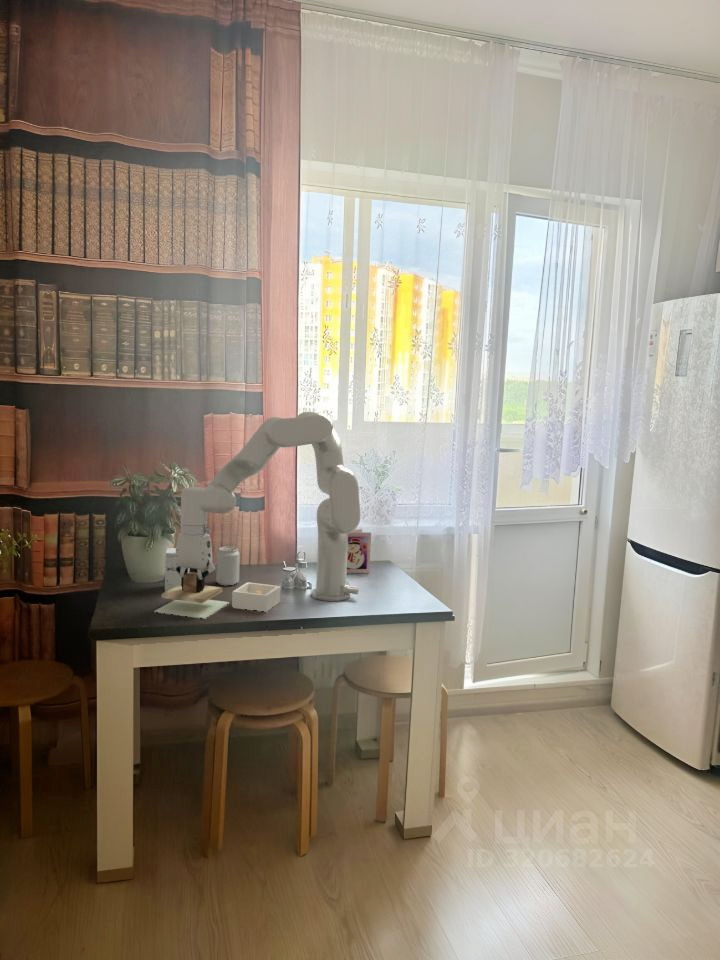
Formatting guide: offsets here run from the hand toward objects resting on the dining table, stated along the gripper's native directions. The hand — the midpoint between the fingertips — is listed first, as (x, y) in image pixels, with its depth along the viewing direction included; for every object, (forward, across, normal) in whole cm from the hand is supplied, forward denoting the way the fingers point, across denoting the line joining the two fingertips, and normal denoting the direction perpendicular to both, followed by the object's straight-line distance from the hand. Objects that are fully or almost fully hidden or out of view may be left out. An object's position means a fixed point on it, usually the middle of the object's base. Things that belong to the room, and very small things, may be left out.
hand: (192, 589), depth 216 cm
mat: (+5, 0, 0) cm, 5 cm away
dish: (+5, -16, -10) cm, 20 cm away
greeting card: (+5, -32, -61) cm, 69 cm away
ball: (+3, -16, -10) cm, 19 cm away
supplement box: (+6, +14, -16) cm, 22 cm away
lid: (+1, 0, 0) cm, 1 cm away
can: (+6, +2, -28) cm, 29 cm away
